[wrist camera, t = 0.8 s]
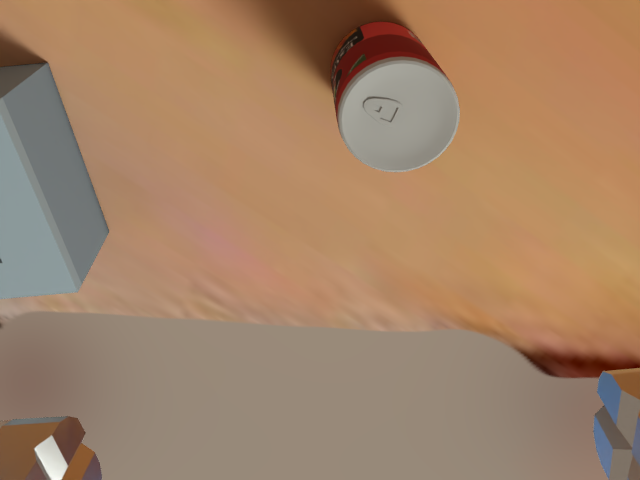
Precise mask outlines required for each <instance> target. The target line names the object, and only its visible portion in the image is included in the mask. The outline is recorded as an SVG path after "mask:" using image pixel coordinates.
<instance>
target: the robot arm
mask: <svg viewBox="0 0 640 480" xmlns="http://www.w3.org/2000/svg"><path fill="white" fill-rule="evenodd" d="M597 393H598V394H599V396H600V398H601V400H602V402H603V403H604V406H603V407H602V408H601V409H600V410H599V411H598V412H597V413H596V414H595V416H594V431H593V432H594V438H595V444H596V450H597V453H598V456H599V459H600V462H601V465H602V467H603V469H604V471H605V473H606V475H607V477H608V479H609V480H640V368H636V369H625V370H614V371H603V372H602V374H601V376H600V378H599V381H598V389H597ZM84 435H85V431H84V429H83V427H82V425H81V424H80V422H79V420H78V418H74V417H70V416H65V417H46V418H30V419H13V420H9V421H8V420H7V421H0V480H102V474H101V468H100V462H99V460H98V458H97V456H96V454H95V452H94V451H92V450H91V449H89V448H88V447H86V446H85V445H83V444H82V440H83V438H84Z"/></svg>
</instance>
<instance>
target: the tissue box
mask: <svg viewBox="0 0 640 480" xmlns="http://www.w3.org/2000/svg"><path fill="white" fill-rule="evenodd" d="M108 233H109V229H108V227H107V224H106V221H105V218H104V216H103V213H102V210H101V207H100V205H99V202H98V199H97V196H96V194H95V191H94V188H93V185H92V183H91V180H90V177H89V174H88V172H87V169H86V166H85V163H84V161H83V158H82V155H81V152H80V150H79V147H78V144H77V141H76V139H75V136H74V133H73V130H72V128H71V125H70V122H69V119H68V117H67V114H66V111H65V108H64V106H63V103H62V100H61V97H60V94H59V92H58V89H57V86H56V83H55V81H54V78H53V75H52V72H51V70H50V67H49V64H48V63H37V64H27V65H17V66H7V67H0V299H6V298H18V297H29V296H40V295H51V294H62V293H73V292H78V291H79V289H80V287H81V285H82V283H83V281H84V279H85V277H86V275H87V274H88V272H89V270H90V268H91V266H92V264H93V262H94V260H95V258H96V256H97V254H98V252H99V250H100V249H101V247H102V245H103V243H104V241H105V239H106V237H107V235H108Z"/></svg>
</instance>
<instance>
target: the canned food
mask: <svg viewBox="0 0 640 480" xmlns="http://www.w3.org/2000/svg"><path fill="white" fill-rule="evenodd" d="M330 74H331V83H332V90H333V97H334V103H335V110H336V117H337V122H338V127H339V130H340V133H341V136H342V139H343V141H344V142H345V144H346V146H347V148H348V149H349V151H350V152H351V153H352V154H353V155H354V156H355V157H356V158H357V159H359V160H360V161H361V162H363V163H364V164H366V165H368V166H370V167H372V168H374V169H378V170H382V171H387V172H404V171H410V170H414V169H417V168H420V167H422V166H424V165H426V164H428V163H430V162H431V161H433V160H434V159H436V158H437V157H438V156H439V155H441V154H442V153H443V152H444V151H445V150H446V148H447V147H448V146H449V144H450V143H451V141H452V140H453V137H454V135H455V133H456V131H457V127H458V123H459V113H460V108H459V103H458V98H457V95H456V92H455V90H454V88H453V85H452V84H451V82H450V81H449V79H448V78H447V76H446V75H445V73H444V72H443V71H442V69H441V68H440V67H439V65H438V64H437V63H436V61H435V60H434V59H433V57H432V56H431V55H430V53H429V52H428V51H427V49H426V48H425V47H424V45H423V44H422V43H421V41H420V40H419V39H418V37H417V36H416V35H414V34H413V33H412V32H411V31H410V30H408V29H406V28H405V27H403V26H401V25H398V24H395V23H390V22H372V23H369V24H365V25H362V26H360V27H358V28H356V29H354V30H353V31H351V32H350V33H349V34H348V35H346V36H345V37H344V39H343V40H342V41H341V42H340V43H339V45H338V47H337V48H336V50H335V52H334V55H333V58H332V61H331V69H330Z"/></svg>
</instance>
